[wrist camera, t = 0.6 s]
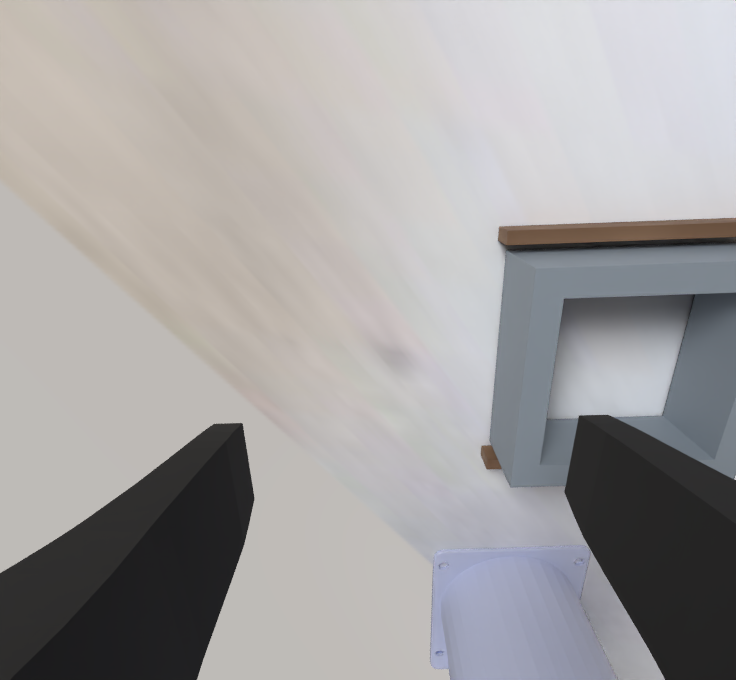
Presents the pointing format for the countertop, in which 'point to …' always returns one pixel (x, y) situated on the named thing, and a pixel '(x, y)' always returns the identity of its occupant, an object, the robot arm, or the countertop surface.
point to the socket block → (614, 279)
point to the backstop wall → (606, 234)
